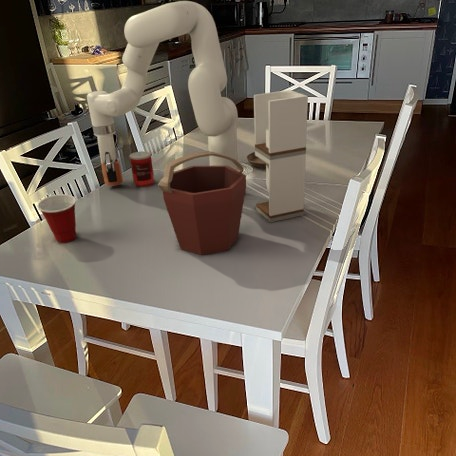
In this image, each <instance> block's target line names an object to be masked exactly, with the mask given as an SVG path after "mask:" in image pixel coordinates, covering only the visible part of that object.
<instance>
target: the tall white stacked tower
mask: <svg viewBox="0 0 456 456" xmlns="http://www.w3.org/2000/svg"><path fill="white" fill-rule="evenodd" d="M308 105H309V96H308V95H306V94H303V93H300V92H297V91H294V90H292V89H287V90H280V91H273V92H272V91H271V92H264V93H258V94H257V93H256V94H253V123H254V126H253V127H254V152H255V155H256V156H257V157H259V158H260V159H262V160H263V161H265V162H266V168H265V182H266V183H265V186H266V189H267V191H268V201H262V202H258V203H256V204H255V211H257V212H258V213H259V214H260V215H261V216H262V217H264V218H265V219H266V220H267V221H268V222H269V223H274V222H278V221H282V220H283V221H284V220H287V219H291V218H297V217H300V216H304V215H305V190H306V189H305V188H306V186H305V185H306V162H307V159H306V158H307V137H308V136H307V133H308V109H309V108H308V107H309V106H308Z"/></svg>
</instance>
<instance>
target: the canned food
mask: <svg viewBox="0 0 456 456" xmlns="http://www.w3.org/2000/svg"><path fill="white" fill-rule="evenodd" d="M129 162H130V168H131V173H132V174H131V175H132V181H133V183H134V185H135V186H136V187H139V188H144V187H151V186H152V185H154V183H155V175H154V168H153V160H152V155H151V152H149V151H143V150H142V151H136V152H132V153H130V154H129Z"/></svg>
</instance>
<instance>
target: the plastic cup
mask: <svg viewBox="0 0 456 456" xmlns="http://www.w3.org/2000/svg"><path fill="white" fill-rule="evenodd" d="M76 203H77V199H76V197H75V196H73V195H71V194H64V193H62V194H54V195H49V196H47V197H45V198H42V199H41V200H40V201H38V203H37V204H36V208H37V209H38V210H39V211H40V212H41V214H42V216H43V217H44V219H45V221H46V223H47V225H48V227H49V230H50V231H51V233H52V235H53V237H54V239H55V240H56V243H57V242H58V243H62V244H63V243H64V244H65V243H70V242H72V241H74V240H75V239H76V238H77V228H76V227H77V224H76Z"/></svg>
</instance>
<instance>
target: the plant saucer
mask: <svg viewBox="0 0 456 456" xmlns="http://www.w3.org/2000/svg"><path fill="white" fill-rule="evenodd" d="M246 160H247V161H248V163H249V164H250V165H251V166H252V167H255V168H258V169H266V162H265V161H263V160H262V159H260V158H259V157H257V156H256V155H255V151H253V152H251V153H249V154H247V155H246Z"/></svg>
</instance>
